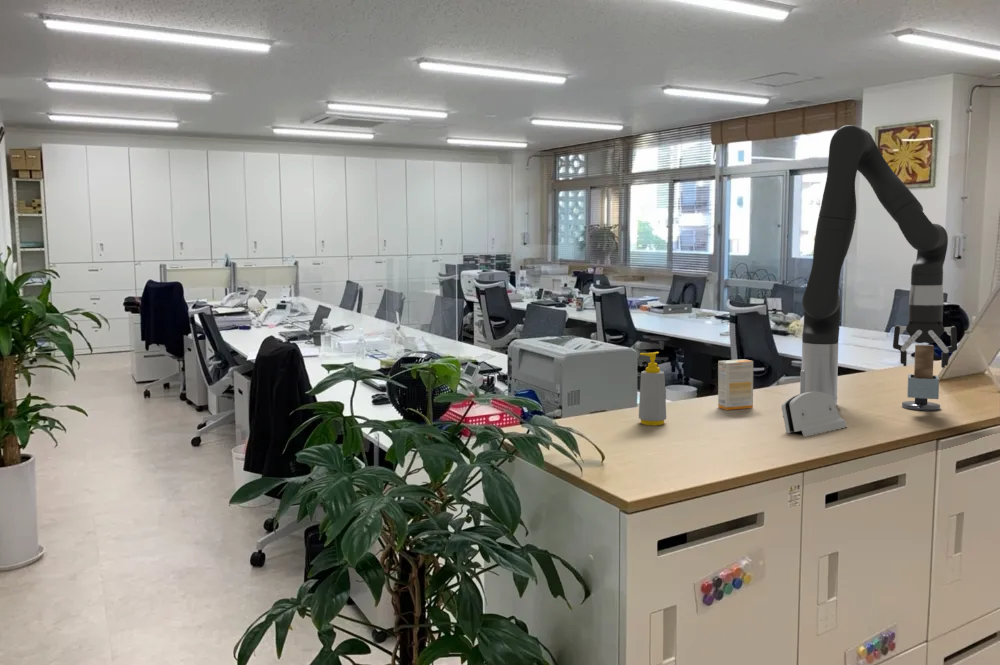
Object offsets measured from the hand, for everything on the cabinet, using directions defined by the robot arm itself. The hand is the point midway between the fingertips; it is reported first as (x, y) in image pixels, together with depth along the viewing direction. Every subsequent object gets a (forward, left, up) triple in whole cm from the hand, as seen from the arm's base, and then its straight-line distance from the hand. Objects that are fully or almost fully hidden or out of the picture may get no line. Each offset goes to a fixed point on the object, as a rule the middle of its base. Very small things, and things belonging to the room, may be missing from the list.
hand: (923, 366), depth 194 cm
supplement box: (-45, -8, -13) cm, 47 cm away
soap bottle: (-60, -36, -13) cm, 71 cm away
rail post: (0, 0, -7) cm, 7 cm away
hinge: (-24, -27, -13) cm, 38 cm away
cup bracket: (0, +6, -13) cm, 14 cm away
